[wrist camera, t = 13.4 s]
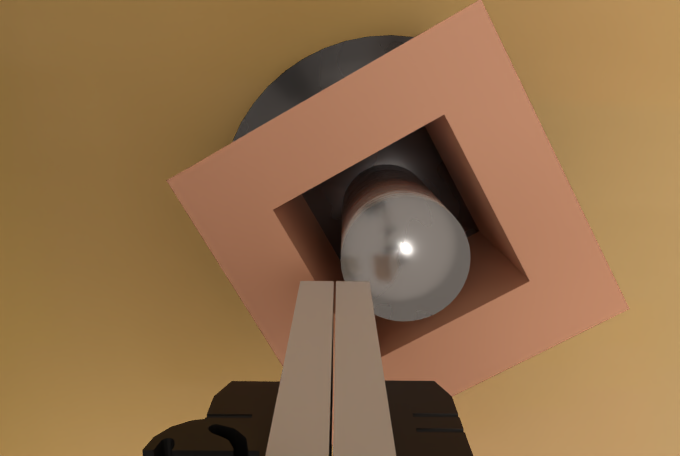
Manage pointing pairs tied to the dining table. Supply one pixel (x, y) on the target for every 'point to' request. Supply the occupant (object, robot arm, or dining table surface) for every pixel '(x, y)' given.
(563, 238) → the pink square tube frame
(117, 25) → the dining table surface
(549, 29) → the dining table surface
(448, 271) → the hub
